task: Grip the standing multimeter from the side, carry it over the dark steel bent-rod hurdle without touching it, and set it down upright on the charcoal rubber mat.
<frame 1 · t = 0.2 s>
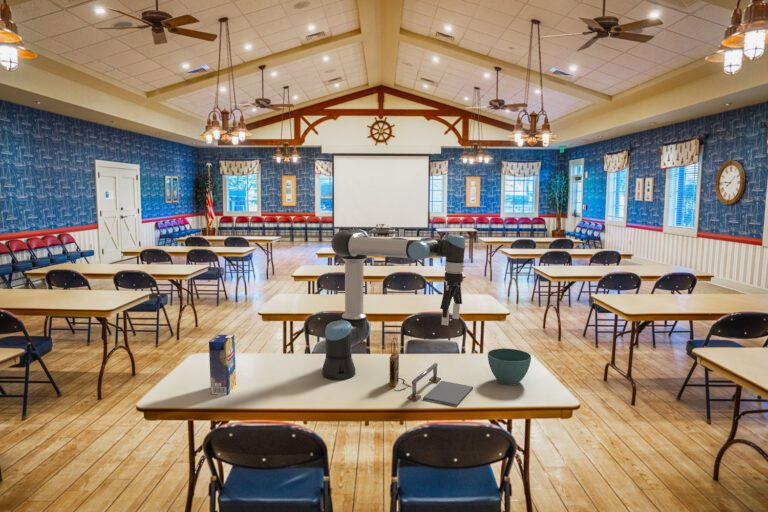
hand: (450, 321, 210), 27 cm above the table, tool pointing down, fingers open, 13 cm apart
teal bowl: (508, 382, 215), on the table
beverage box: (223, 390, 206), on the table
multimeter: (402, 385, 212), on the table
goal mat: (448, 394, 202), on the table
bent rod hurdle: (425, 389, 207), on the table
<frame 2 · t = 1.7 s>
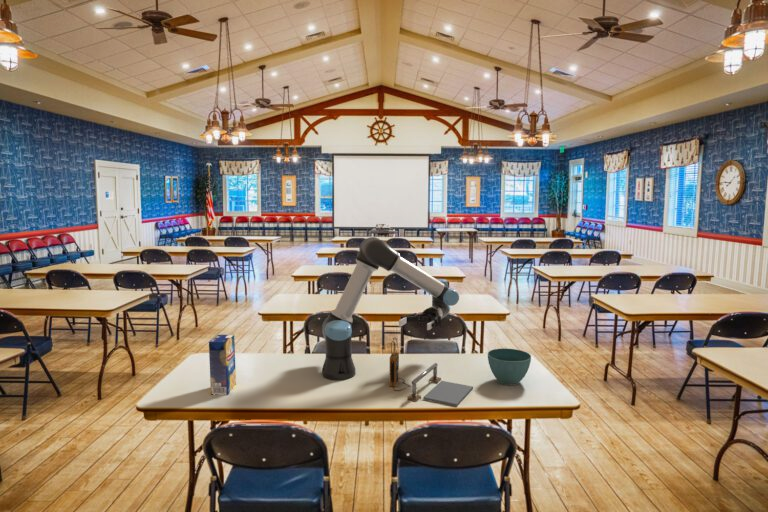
hand: (413, 325, 218), 24 cm above the table, tool horizontal, fingers open, 13 cm apart
nothing on the table moved.
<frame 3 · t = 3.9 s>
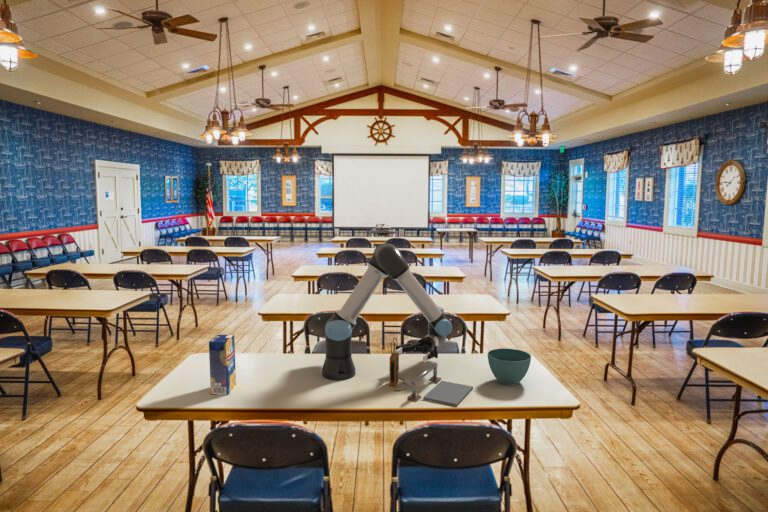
hand: (409, 356, 214), 11 cm above the table, tool horizontal, fingers open, 13 cm apart
nothing on the table moved.
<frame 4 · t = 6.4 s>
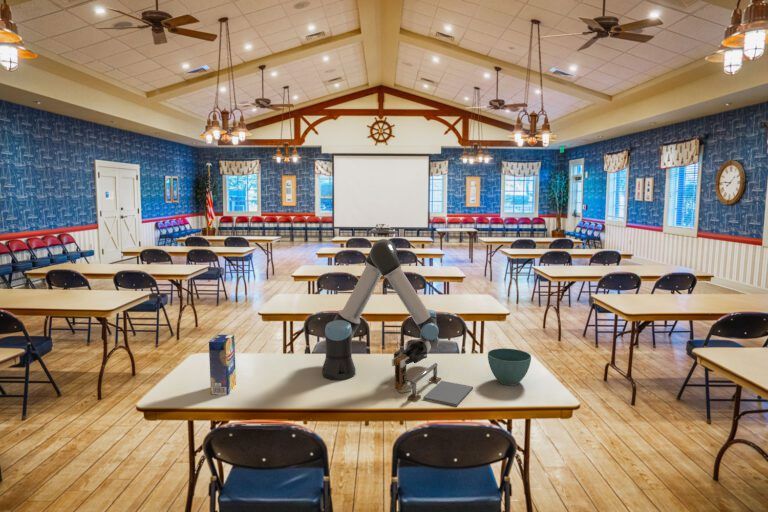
hand: (396, 363, 205), 11 cm above the table, tool horizontal, fingers closed on multimeter, 3 cm apart
multimeter: (408, 387, 209), on the table, touching gripper
everything else where it was.
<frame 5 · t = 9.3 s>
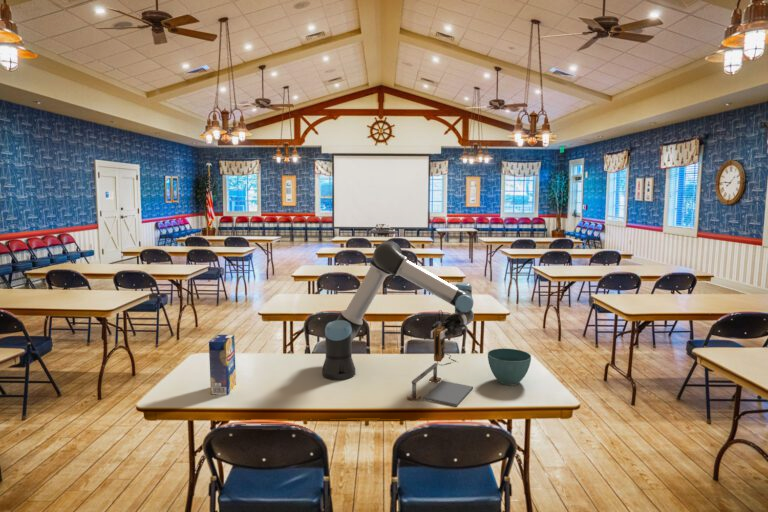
hand: (436, 335, 198), 25 cm above the table, tool horizontal, fingers closed on multimeter, 3 cm apart
multimeter: (447, 360, 202), point 14 cm above the table, touching gripper
everything else where it was.
when the fingers open (13 cm above the table, at t = 12.3 s): multimeter drops 1 cm, resting on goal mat.
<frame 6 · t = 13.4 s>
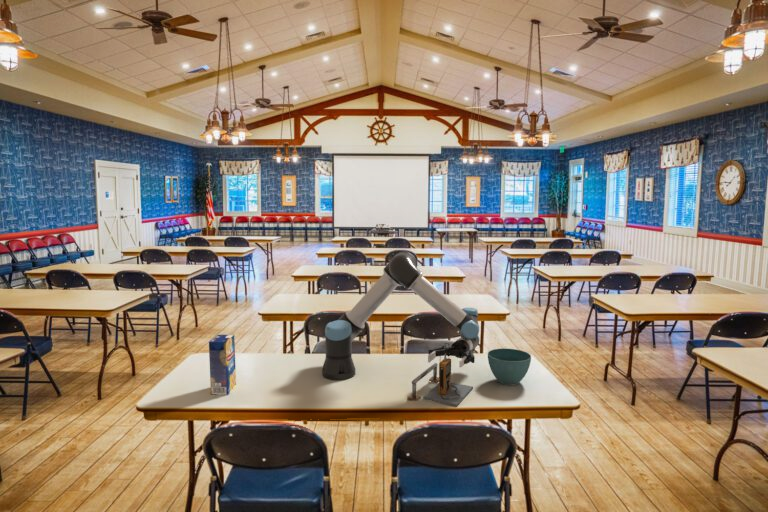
hand: (444, 361, 201), 14 cm above the table, tool horizontal, fingers open, 13 cm apart
multimeter: (453, 393, 200), point 1 cm above the table, touching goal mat
everything else where it was.
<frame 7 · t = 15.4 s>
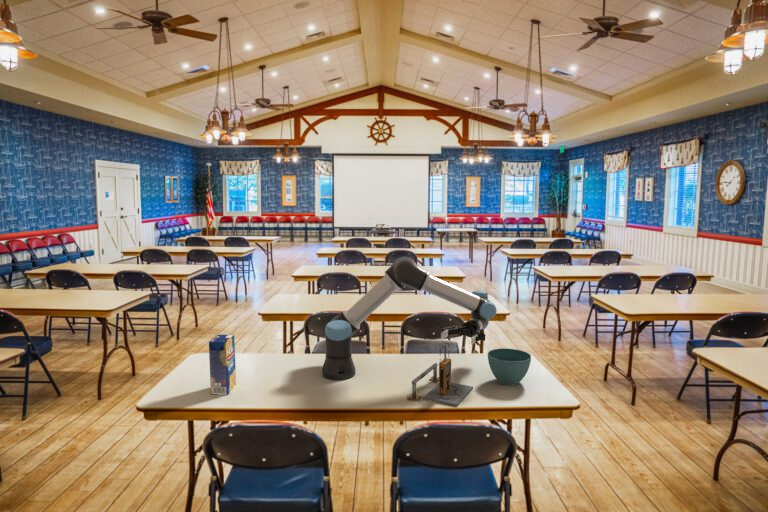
hand: (456, 338, 211), 20 cm above the table, tool horizontal, fingers open, 13 cm apart
nothing on the table moved.
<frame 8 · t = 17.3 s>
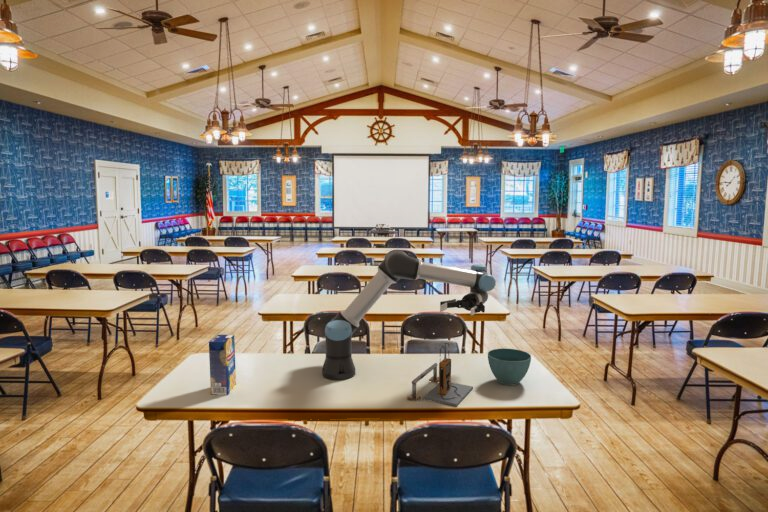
hand: (455, 310, 210), 32 cm above the table, tool horizontal, fingers open, 13 cm apart
nothing on the table moved.
at the end: multimeter inside the target area on the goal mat (2.4 cm from its centre), point 0.8 cm above the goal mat's base; multimeter tilted 0°; multimeter touching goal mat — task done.
